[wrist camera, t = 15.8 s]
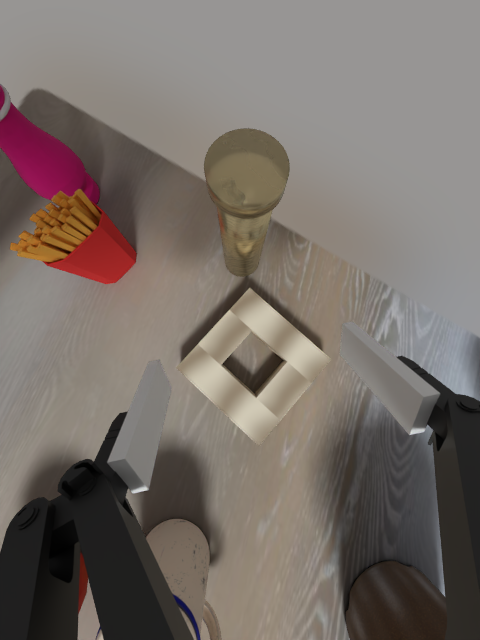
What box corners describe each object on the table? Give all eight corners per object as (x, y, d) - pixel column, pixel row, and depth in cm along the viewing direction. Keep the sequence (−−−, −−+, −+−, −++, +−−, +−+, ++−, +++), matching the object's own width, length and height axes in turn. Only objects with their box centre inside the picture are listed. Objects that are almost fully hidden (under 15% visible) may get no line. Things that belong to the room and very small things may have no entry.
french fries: (127, 236, 32) (59, 170, 20) (146, 253, 31) (89, 196, 19) (85, 278, 31) (-12, 234, 19) (104, 295, 30) (18, 263, 18)
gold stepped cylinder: (213, 261, 31) (186, 168, 15) (240, 233, 32) (243, 113, 15) (243, 288, 31) (250, 222, 14) (270, 258, 31) (307, 164, 15)
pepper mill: (93, 166, 33) (-128, -107, 13) (110, 205, 32) (-95, -22, 12) (48, 185, 32) (-252, -70, 13) (65, 225, 32) (-225, 22, 12)
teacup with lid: (124, 563, 26) (35, 733, 15) (170, 498, 27) (120, 611, 16) (200, 630, 26) (170, 864, 14) (245, 560, 27) (251, 726, 15)
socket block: (181, 365, 29) (176, 367, 27) (248, 292, 31) (249, 287, 28) (257, 437, 28) (259, 446, 26) (323, 358, 30) (331, 359, 27)
